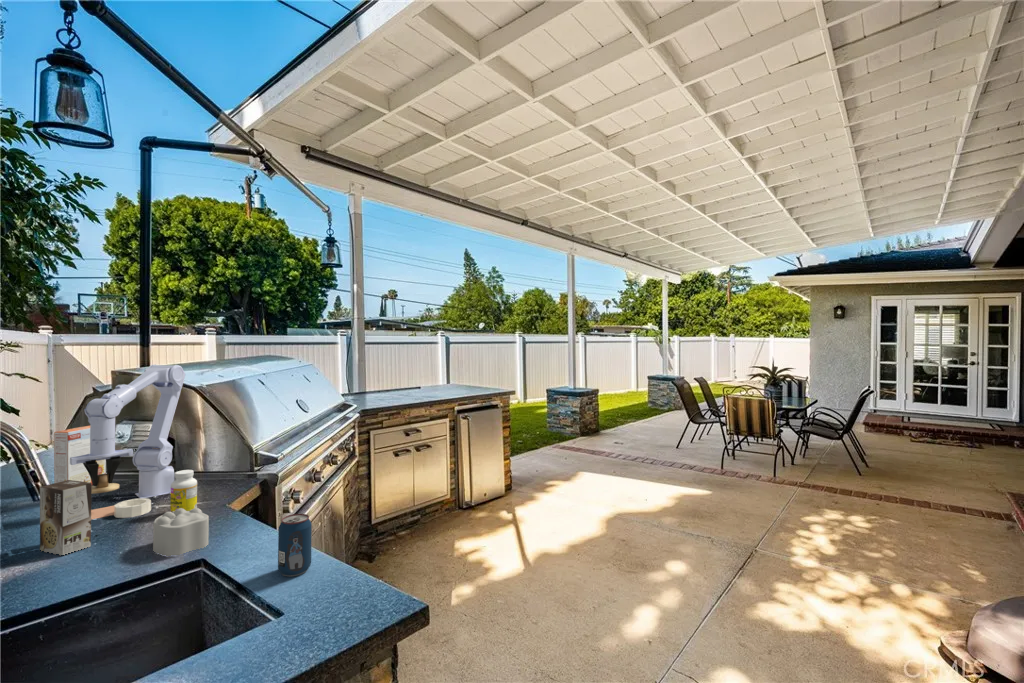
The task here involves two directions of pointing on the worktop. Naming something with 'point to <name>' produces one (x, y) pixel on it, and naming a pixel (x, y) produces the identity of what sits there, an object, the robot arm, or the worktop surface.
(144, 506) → the bowl
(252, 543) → the worktop surface
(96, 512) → the mat
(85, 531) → the coffee box
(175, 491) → the supplement bottle
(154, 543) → the beige bumpy block
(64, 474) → the cracker box
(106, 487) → the bamboo lid
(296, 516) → the soda can
